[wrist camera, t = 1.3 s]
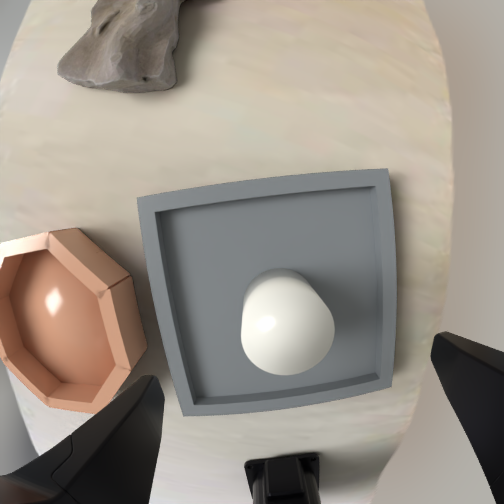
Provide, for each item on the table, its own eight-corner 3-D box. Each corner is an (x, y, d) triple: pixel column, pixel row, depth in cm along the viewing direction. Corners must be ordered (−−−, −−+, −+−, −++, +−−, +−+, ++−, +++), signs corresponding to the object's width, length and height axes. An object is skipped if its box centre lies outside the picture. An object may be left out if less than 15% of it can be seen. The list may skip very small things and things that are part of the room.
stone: (173, 106, 18) (155, 84, 14) (64, 97, 18) (35, 81, 14) (232, -35, 16) (230, -65, 12) (132, -34, 16) (119, -60, 12)
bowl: (160, 390, 21) (148, 417, 17) (38, 382, 21) (19, 400, 17) (122, 218, 19) (98, 221, 15) (0, 245, 19) (-27, 250, 15)
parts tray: (381, 373, 21) (391, 386, 19) (188, 400, 21) (183, 416, 19) (375, 171, 18) (387, 168, 16) (147, 198, 19) (136, 197, 17)
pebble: (316, 330, 19) (335, 367, 14) (248, 339, 19) (247, 380, 14) (310, 263, 18) (332, 283, 13) (238, 272, 18) (234, 296, 13)
